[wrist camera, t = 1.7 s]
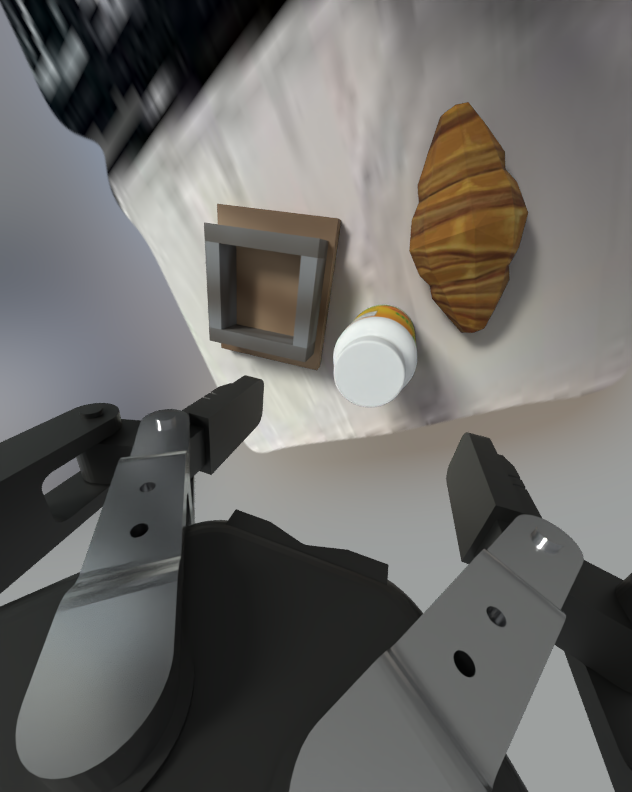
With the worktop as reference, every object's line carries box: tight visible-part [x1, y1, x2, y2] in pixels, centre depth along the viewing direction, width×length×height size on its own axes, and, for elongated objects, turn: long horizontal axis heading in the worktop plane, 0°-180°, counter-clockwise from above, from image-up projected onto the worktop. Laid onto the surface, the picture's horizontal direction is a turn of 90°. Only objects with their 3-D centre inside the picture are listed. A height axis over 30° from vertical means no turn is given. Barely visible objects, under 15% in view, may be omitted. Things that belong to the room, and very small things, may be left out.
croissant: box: [409, 102, 528, 333], centre depth 18 cm, size 14×7×5 cm, turn 15°
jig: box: [204, 204, 341, 370], centre depth 23 cm, size 12×10×4 cm
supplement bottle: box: [333, 305, 417, 407], centre depth 20 cm, size 5×5×10 cm
